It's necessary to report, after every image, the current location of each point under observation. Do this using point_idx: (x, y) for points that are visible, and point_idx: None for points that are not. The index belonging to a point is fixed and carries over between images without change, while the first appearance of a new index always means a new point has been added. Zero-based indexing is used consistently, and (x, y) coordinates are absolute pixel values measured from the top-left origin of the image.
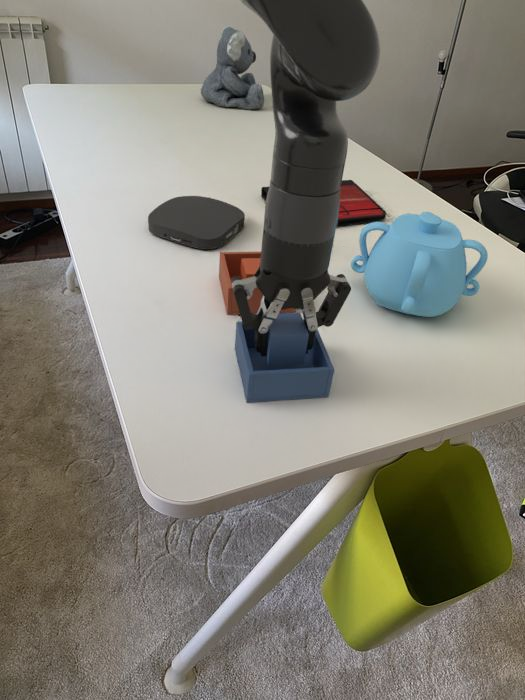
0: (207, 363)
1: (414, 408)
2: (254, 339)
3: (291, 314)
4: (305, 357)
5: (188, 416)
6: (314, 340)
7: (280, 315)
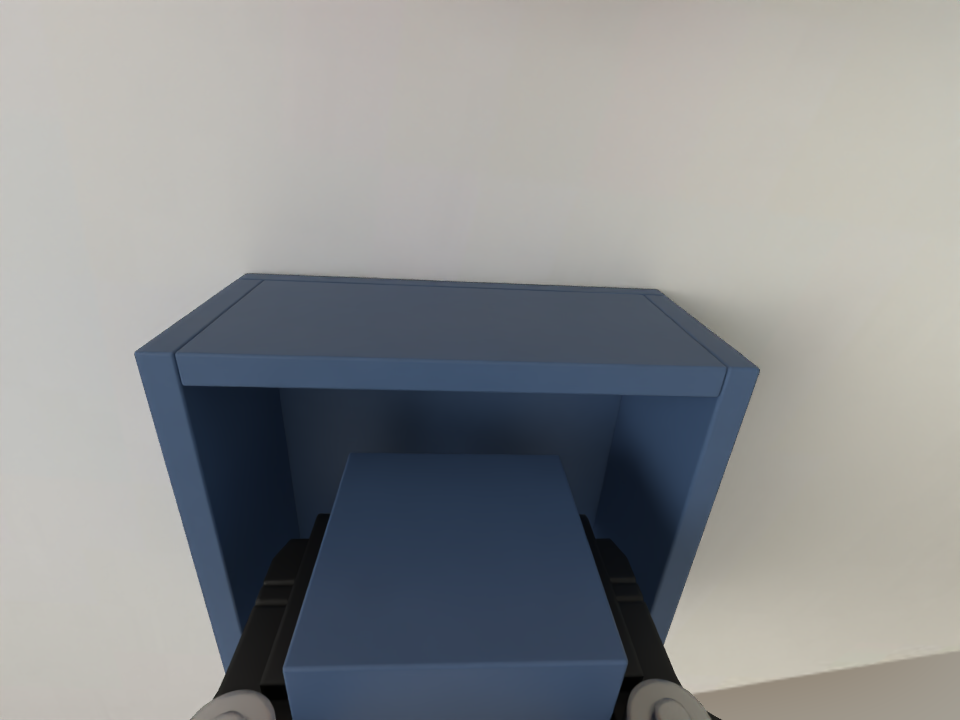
0: (106, 365)
1: (834, 619)
2: (265, 580)
3: (536, 686)
4: (595, 400)
5: (85, 606)
6: (662, 488)
7: (432, 689)
